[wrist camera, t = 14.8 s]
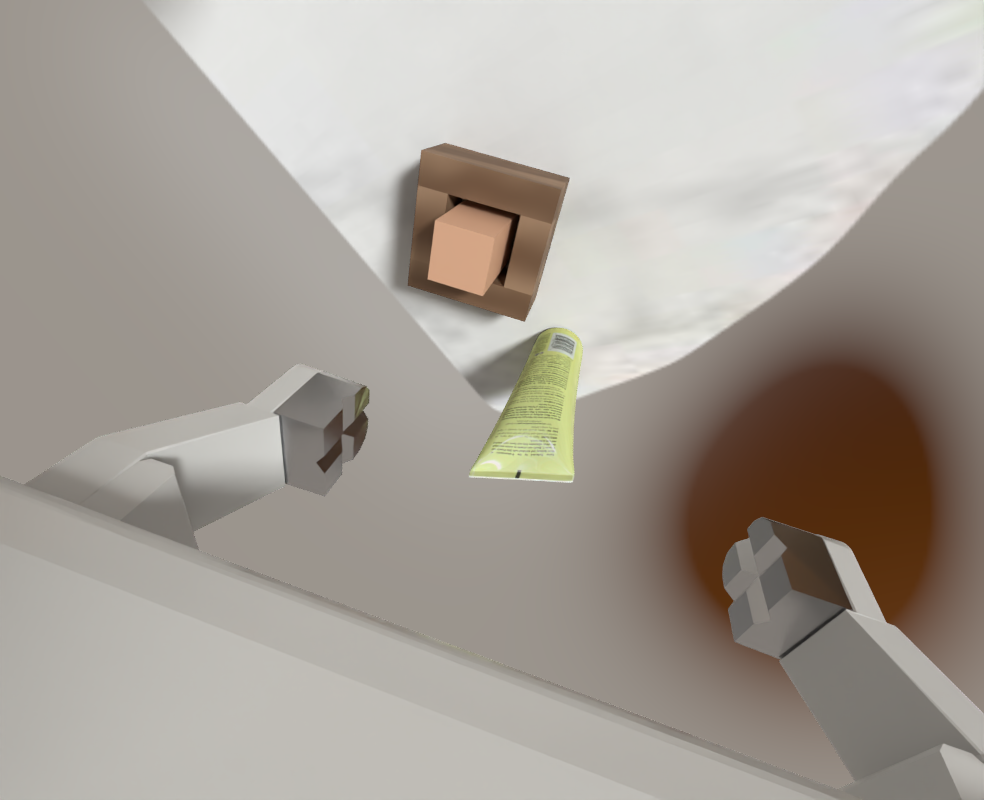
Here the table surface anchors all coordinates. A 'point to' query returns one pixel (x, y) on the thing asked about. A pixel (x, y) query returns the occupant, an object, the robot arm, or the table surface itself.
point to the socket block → (498, 185)
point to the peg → (471, 246)
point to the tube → (537, 416)
